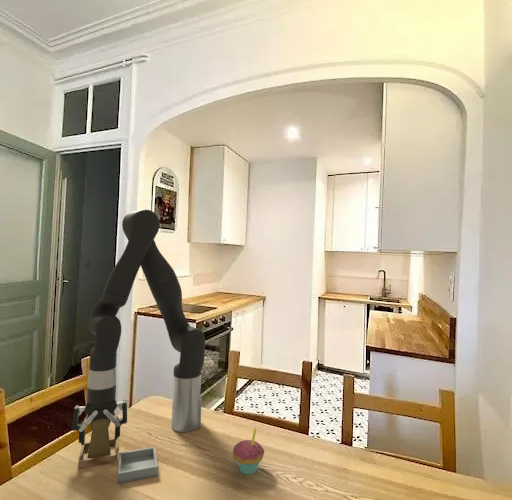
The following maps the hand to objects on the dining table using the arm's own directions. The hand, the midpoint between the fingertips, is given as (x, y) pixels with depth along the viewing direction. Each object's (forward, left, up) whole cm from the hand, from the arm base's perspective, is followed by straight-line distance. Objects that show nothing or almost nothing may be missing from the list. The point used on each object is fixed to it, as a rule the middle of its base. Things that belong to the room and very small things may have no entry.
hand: (99, 441), depth 96 cm
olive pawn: (0, 0, -4) cm, 4 cm away
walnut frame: (0, 0, -4) cm, 4 cm away
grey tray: (-10, +9, -4) cm, 14 cm away
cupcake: (-38, +19, -4) cm, 43 cm away
